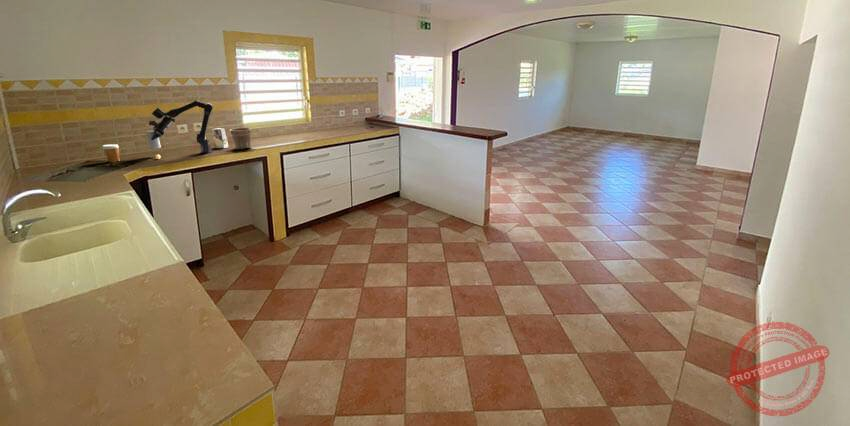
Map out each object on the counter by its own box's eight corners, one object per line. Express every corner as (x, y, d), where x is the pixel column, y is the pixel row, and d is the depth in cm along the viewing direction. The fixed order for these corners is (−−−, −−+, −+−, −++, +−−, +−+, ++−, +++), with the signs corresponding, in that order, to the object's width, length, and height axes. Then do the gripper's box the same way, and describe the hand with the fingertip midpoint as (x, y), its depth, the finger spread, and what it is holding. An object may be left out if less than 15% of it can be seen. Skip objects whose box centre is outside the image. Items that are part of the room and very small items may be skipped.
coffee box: (228, 147, 348) (225, 128, 342) (224, 148, 342) (220, 129, 336) (219, 146, 349) (215, 128, 344) (214, 148, 343) (211, 129, 338)
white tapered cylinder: (162, 146, 310) (159, 130, 306) (156, 148, 304) (152, 131, 299) (154, 147, 311) (150, 130, 306) (147, 148, 304) (143, 131, 300)
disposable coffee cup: (125, 160, 295) (121, 144, 291) (112, 163, 287) (107, 146, 283) (116, 159, 298) (112, 143, 294) (103, 162, 289) (98, 145, 286)
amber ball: (161, 158, 302) (160, 154, 301) (159, 159, 299) (158, 155, 298) (157, 158, 302) (156, 154, 301) (154, 159, 299) (153, 155, 298)
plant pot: (244, 150, 333) (241, 130, 327) (228, 149, 337) (225, 129, 332) (257, 147, 347) (254, 128, 342) (242, 146, 352) (239, 127, 347)
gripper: (153, 115, 309) (139, 131, 306) (155, 117, 294) (140, 133, 292) (167, 124, 316) (154, 140, 313) (169, 127, 301) (156, 143, 299)
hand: (151, 139), depth 304 cm, fingers closed on white tapered cylinder, 7 cm apart
